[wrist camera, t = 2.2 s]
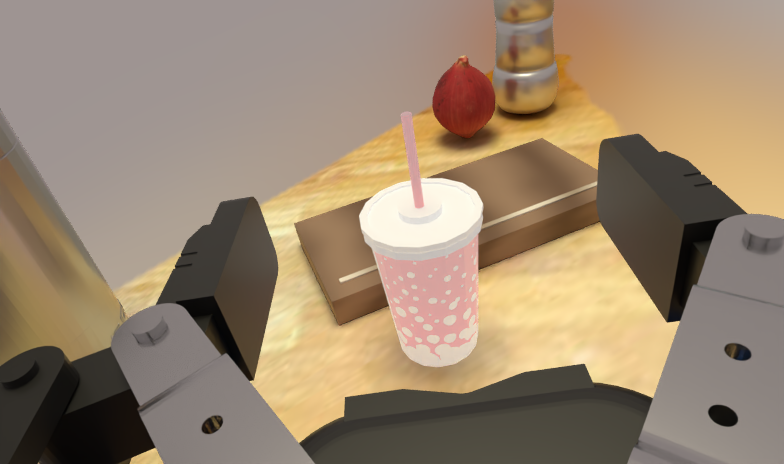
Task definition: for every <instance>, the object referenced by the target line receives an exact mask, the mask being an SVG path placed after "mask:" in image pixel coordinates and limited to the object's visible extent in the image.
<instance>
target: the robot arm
mask: <svg viewBox="0 0 784 464" xmlns="http://www.w3.org/2000/svg"><path fill="white" fill-rule="evenodd" d="M596 205H597V212H598V216H599V220H600V222H601V224H602V226H603V228H604V229H605V231H606V232H607V234H608V235H609V237H610V238H611V240H612V241H613V243H614V244H615V246H616V247H617V249H618V250H619V252H620V253H621V255H622V256H623V258H624V259H625V261H626V262H627V263H628V265H629V266H630V268H631V269H632V271H633V272H634V274H635V275H636V277H637V278H638V280H639V281H640V283H641V284H642V286H643V287H644V289H645V290H646V292H647V293H648V295H649V296H650V298H651V299H652V301H653V302H654V304H655V305H656V307H657V308H658V310H659V311H660V313H661V314H662V316H663V317H664V319H665V320H666V322H674V321H680V323H679V326H678V329H677V332H676V335H675V338H674V340H673V343H672V346H671V349H670V352H669V355H668V358H667V360H666V363H665V366H664V369H663V372H662V375H661V378H660V380H659V383H658V386H657V389H656V392H655V395H654V398H651V397H649V396H647V395H644V394H641V393H639V392H636V391H633V390H630V389H626V388H622V387H619V386H614V385H608V384H603V383H594V382H592V380H591V377H590V375H589V373H588V371H587V368H586V366H585V364H579V365H572V366H565V367H558V368H551V369H544V370H537V371H529V372H524V373H521V374H518V375H516V376H513V377H510V378H508V379H505V380H502V381H499V382H497V383H494V384H491V385H489V386H486V387H483V388H481V389H478V390H475V391H473V392H469V393H464V394H458V393H445V392H432V391H419V390H406V389H401V390H393V391H386V392H379V393H372V394H365V395H358V396H350V397H345V411H344V417H341V418H339V419H336V420H334V421H332V422H330V423H328V424H326V425H324V426H323V427H321V428H319V429H318V430H316V431H315V432H313V433H312V434H310V435H309V436H308V437H306V438H305V439H304V440H303V441H301V442H300V443H298V442H297V440H296V439H295V438H294V437H293V435H292V434H291V433H290V432H289V430H288V429H287V428H286V427H285V425H284V424H283V423H282V422H281V420H280V419H279V418H278V417H277V415H276V414H275V413H274V412H273V410H272V409H271V408H270V407H269V405H268V404H267V403H266V402H265V400H264V399H263V398H262V397H261V395H260V394H259V393H258V392H257V390H256V389H255V388H254V387H253V385H252V384H251V383H250V382H249V381H252V380H254V377H255V373H256V368H257V364H258V360H259V355H260V351H261V346H262V342H263V338H264V333H265V329H266V324H267V320H268V315H269V311H270V307H271V302H272V298H273V293H274V289H275V285H276V280H277V276H278V261H277V255H276V251H275V248H274V245H273V242H272V240H271V237H270V234H269V231H268V229H267V226H266V223H265V220H264V217H263V215H262V212H261V209H260V206H259V204H258V202H257V201H256V199H255V198H254V197H247V198H241V199H235V200H229V201H223V202H221V203H220V205H219V207H218V209H217V211H216V213H215V216H214V217H213V220H212V222H211V224H210V225H204V226H202V227H201V228H200V229H199V230H198V231H197V232H196V233H195V234H193V236H192V237H190V238H189V239H188V241H187V243H186V245H185V247H184V249H183V251H182V253H181V257H179V259H178V261H177V263H176V265H175V269H173V271H172V273H171V275H170V277H169V279H168V281H167V283H166V285H165V287H164V289H163V291H162V293H161V295H160V297H159V299H158V301H157V303H156V305H155V306H151V307H149V308H146V309H144V310H142V311H140V312H138V313H136V314H135V315H133V316H132V317H130V318H128V317H127V315H126V313H125V312H124V309H123V307H122V305H121V304H120V302H119V300H118V299H117V298H116V297H115V295H114V294H113V292H112V290H111V289H110V287H109V285H108V284H107V282H106V280H105V279H104V277H103V275H102V274H101V272H100V270H99V269H98V267H97V266H96V264H95V263H94V261H93V259H92V257H91V256H90V254H89V253H88V251H87V249H86V248H85V246H84V244H83V243H82V241H81V239H80V238H79V236H78V235H77V233H76V231H75V230H74V228H73V226H72V225H71V223H70V222H69V220H68V218H67V217H66V215H65V213H64V212H63V211H62V208H61V207H60V205H59V204H58V202H57V200H56V199H55V197H54V195H53V194H52V192H51V191H50V189H49V187H48V186H47V184H46V182H45V181H44V179H43V178H42V176H41V174H40V173H39V171H38V170H37V168H36V166H35V164H34V163H33V161H32V160H31V158H30V156H29V155H28V153H27V152H26V150H25V148H24V147H23V145H22V143H21V142H20V140H19V139H18V137H17V136H16V134H15V132H14V131H13V129H12V127H11V126H10V124H9V122H8V121H7V119H6V117H5V116H4V114H3V113H2V111H1V109H0V464H38V462H39V463H40V464H130V461H131V458H132V457H134V456H137V455H139V454H141V453H144V452H146V451H148V450H151V449H153V448H156V449H157V451H158V453H159V455H160V457H161V459H162V461H163V463H164V464H784V219H781V218H778V217H773V216H769V215H761V214H747V213H746V212H745V211H744V210H743V209H741V208H740V207H739V206H738V205H737V204H736V203H735V202H734V201H733V200H731V199H730V198H729V197H728V196H727V195H726V194H725V193H724V192H723V191H721V190H720V189H719V188H717V186H716V185H712V182H711V181H710V180H709V179H708V178H707V177H706V176H705V175H701V172H700V171H699V170H698V169H697V168H696V167H694V166H693V165H692V164H691V163H690V162H689V161H688V160H686V159H684V158H681V157H678V156H676V155H674V154H671V153H669V152H667V151H663V152H658V151H657V150H656V149H655V148H654V147H653V146H652V145H651V144H650V143H649V142H648V141H647V140H646V139H645V138H643V136H641V135H639V134H634V135H627V136H621V137H615V138H609V139H604V140H603V141H602V142H601V145H600V149H599V163H598V179H597V195H596Z"/></svg>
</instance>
